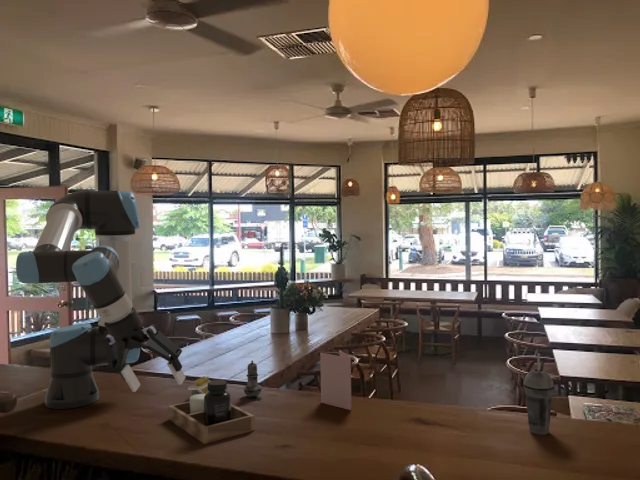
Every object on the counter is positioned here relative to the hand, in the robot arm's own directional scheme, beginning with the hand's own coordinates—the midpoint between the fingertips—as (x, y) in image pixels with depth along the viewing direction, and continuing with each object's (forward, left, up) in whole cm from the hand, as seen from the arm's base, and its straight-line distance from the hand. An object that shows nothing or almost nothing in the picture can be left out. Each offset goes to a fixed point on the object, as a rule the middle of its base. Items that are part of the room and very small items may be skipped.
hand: (159, 384), depth 135 cm
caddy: (0, +14, -14) cm, 20 cm away
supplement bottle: (+4, +14, -13) cm, 19 cm away
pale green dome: (-6, +14, -13) cm, 20 cm away
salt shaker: (-14, +35, -14) cm, 40 cm away
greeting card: (+7, +51, -14) cm, 53 cm away
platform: (-25, +23, -15) cm, 37 cm away
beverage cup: (+56, +77, -14) cm, 96 cm away
